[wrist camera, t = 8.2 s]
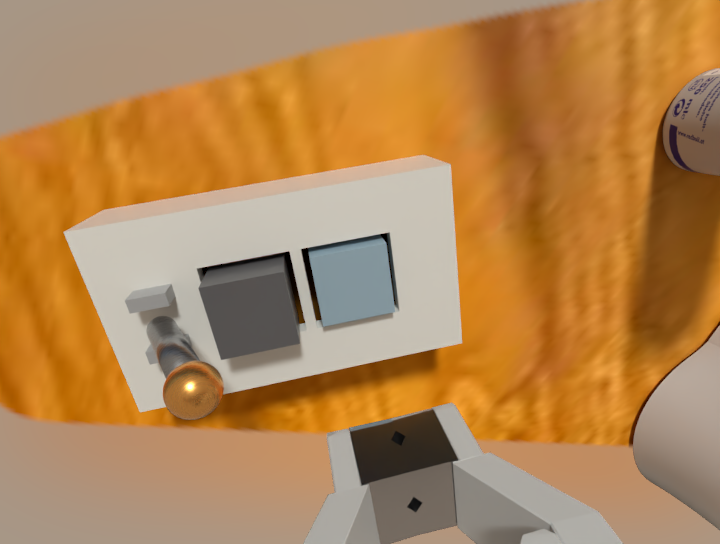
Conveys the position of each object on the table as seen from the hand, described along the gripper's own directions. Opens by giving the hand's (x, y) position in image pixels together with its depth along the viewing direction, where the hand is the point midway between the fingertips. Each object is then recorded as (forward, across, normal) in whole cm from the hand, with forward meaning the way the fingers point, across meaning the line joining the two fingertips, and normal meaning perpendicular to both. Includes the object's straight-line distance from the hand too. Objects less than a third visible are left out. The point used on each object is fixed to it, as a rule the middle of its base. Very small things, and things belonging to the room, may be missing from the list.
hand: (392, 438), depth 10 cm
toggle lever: (+10, -8, 0) cm, 13 cm away
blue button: (+12, +1, -1) cm, 12 cm away
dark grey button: (+11, -4, -1) cm, 12 cm away
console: (+14, -2, -1) cm, 15 cm away
